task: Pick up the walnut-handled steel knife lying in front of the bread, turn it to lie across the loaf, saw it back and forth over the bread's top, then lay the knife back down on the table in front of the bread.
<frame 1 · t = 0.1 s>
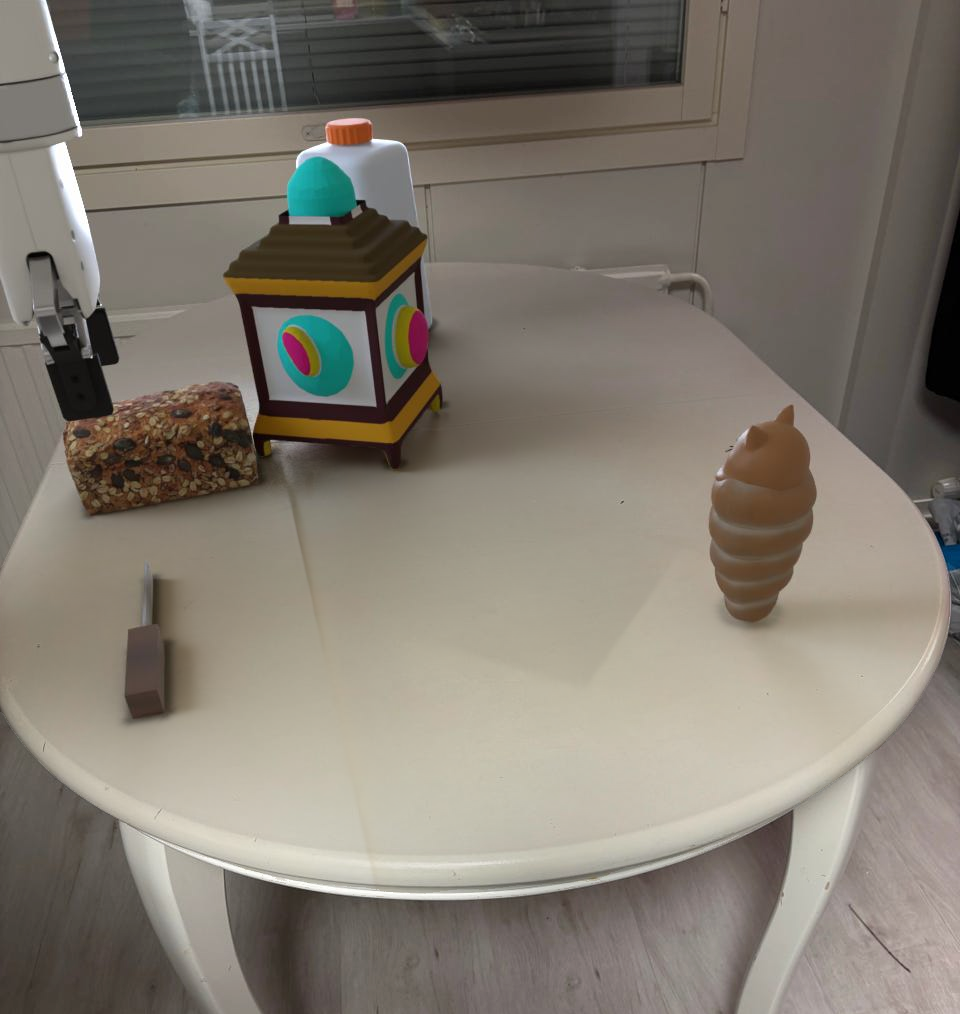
hand: (94, 389, 67), 23 cm above the table, tool pointing down, fingers open, 9 cm apart
bread: (174, 488, 105), on the table
cat ice cream: (745, 618, 81), on the table
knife: (151, 687, 77), on the table
decorative lantern: (354, 436, 114), on the table
plastic bottle: (373, 336, 141), on the table
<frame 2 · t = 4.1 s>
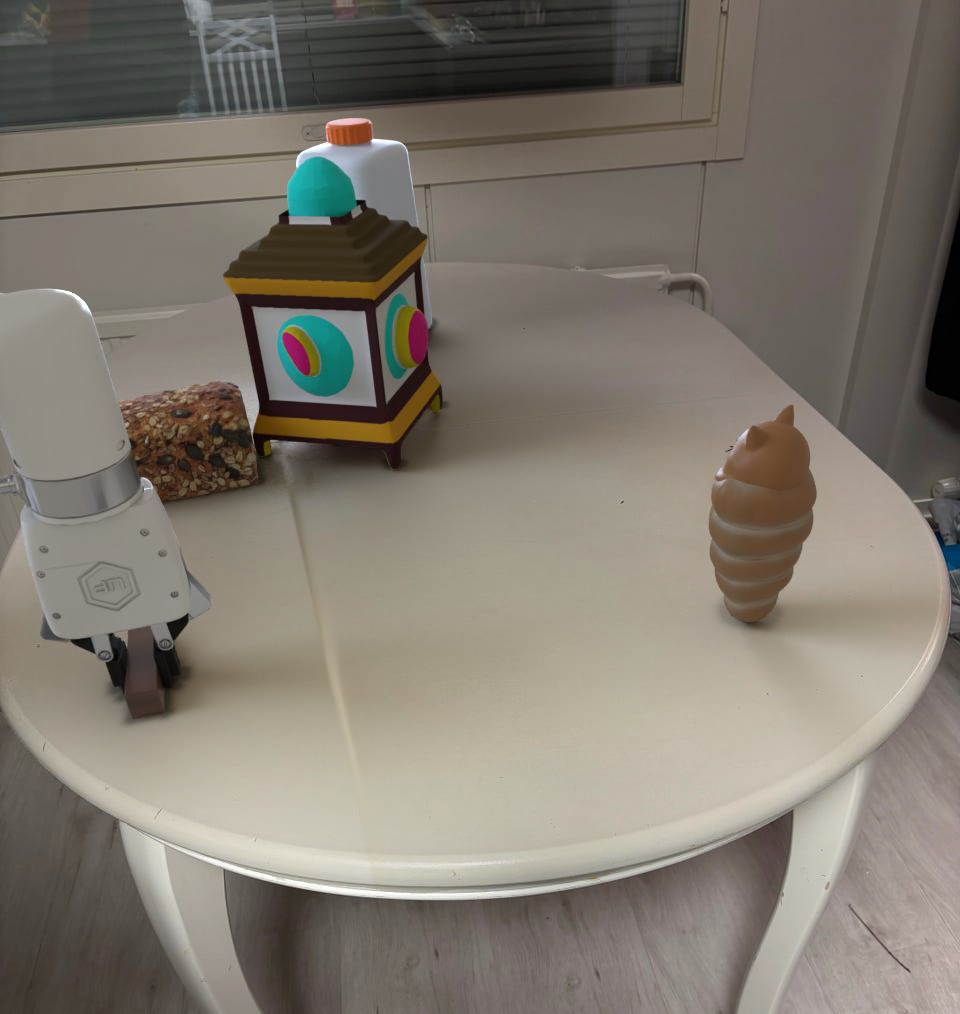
hand: (150, 683, 77), 0 cm above the table, tool pointing down, fingers closed on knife, 2 cm apart
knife: (151, 687, 77), on the table, touching gripper
everything else where it was.
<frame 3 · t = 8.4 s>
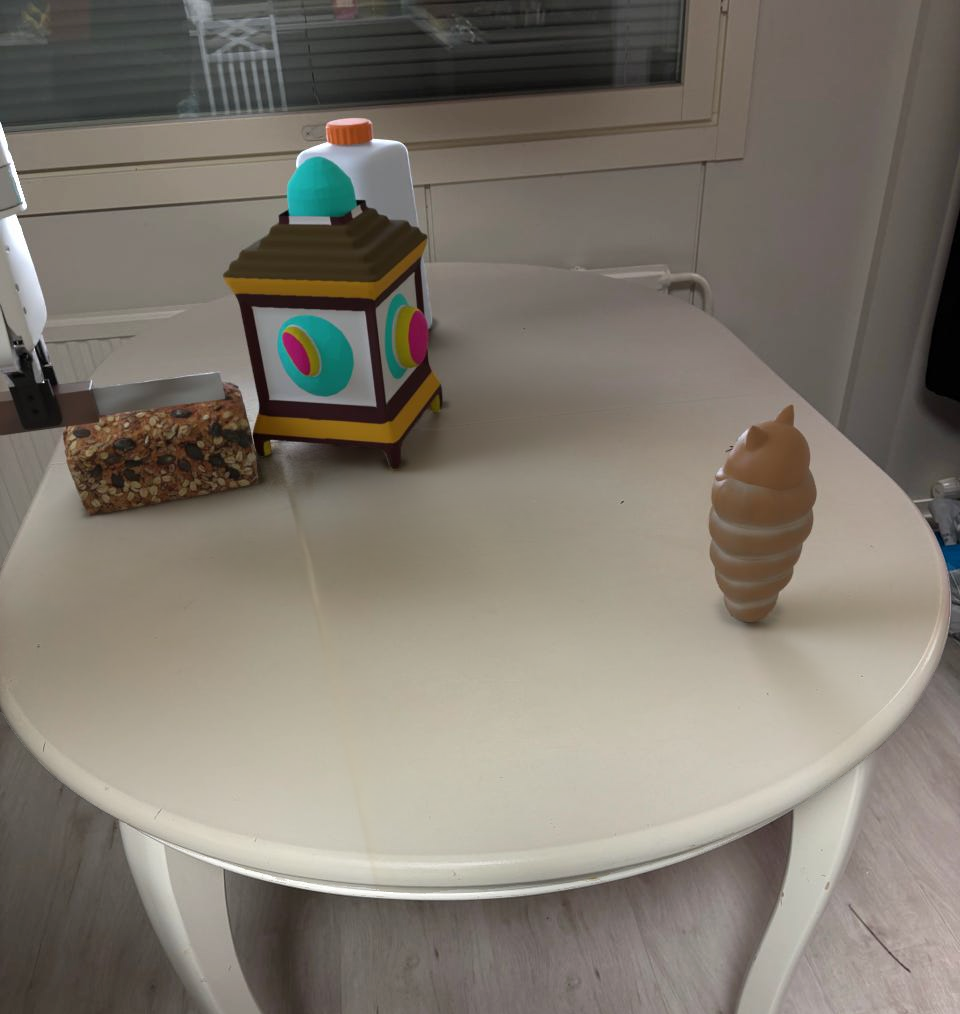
hand: (45, 417, 84), 15 cm above the table, tool pointing down, fingers closed on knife, 2 cm apart
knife: (47, 424, 85), point 14 cm above the table, touching gripper
everything else where it was.
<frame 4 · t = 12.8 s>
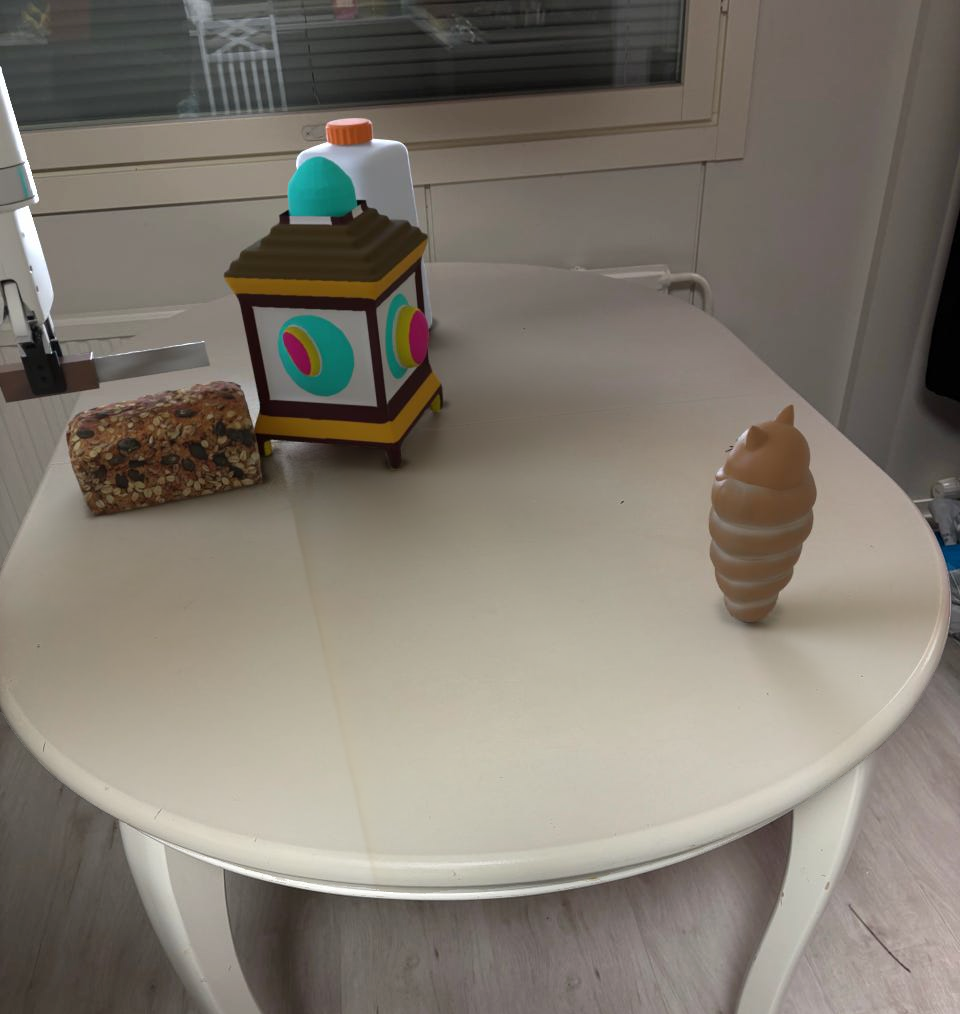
hand: (51, 385, 96), 13 cm above the table, tool pointing down, fingers closed on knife, 2 cm apart
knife: (54, 391, 96), point 12 cm above the table, touching gripper
everything else where it was.
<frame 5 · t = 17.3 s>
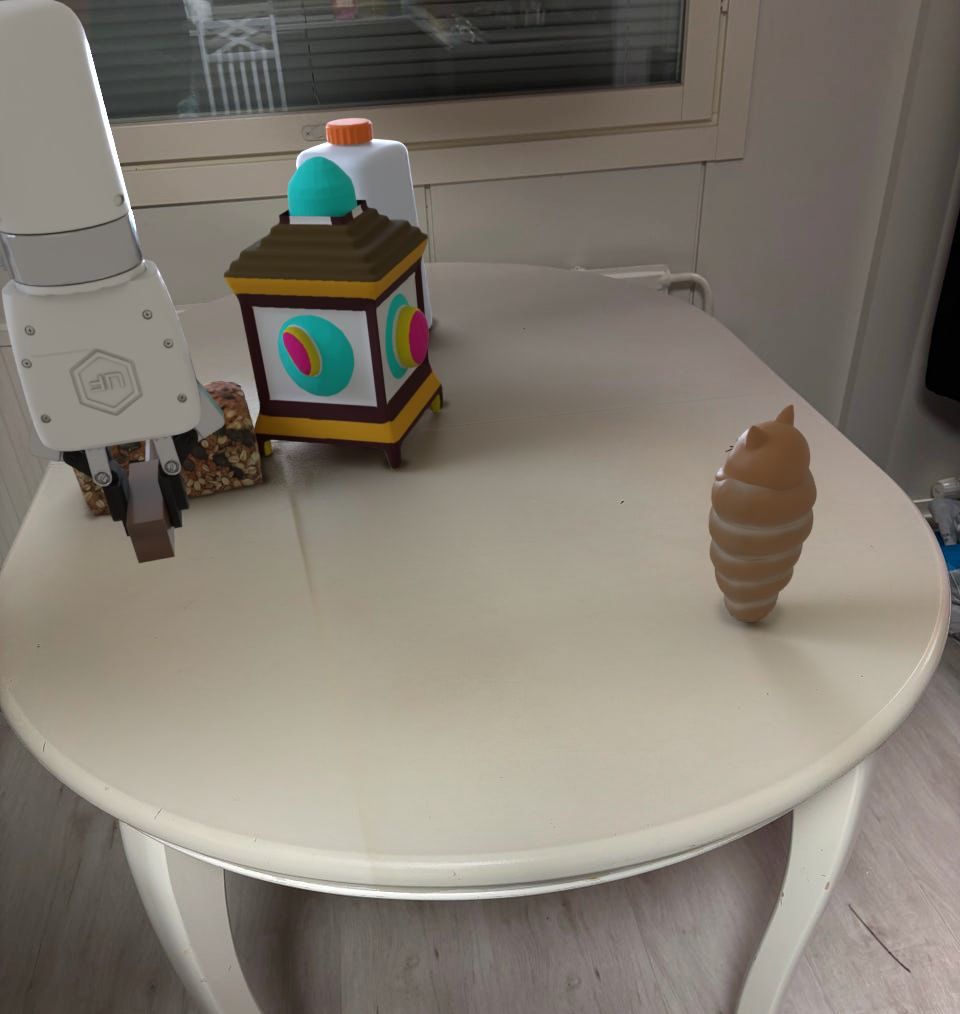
hand: (154, 520, 67), 15 cm above the table, tool pointing down, fingers closed on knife, 2 cm apart
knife: (156, 527, 68), point 15 cm above the table, touching gripper
everything else where it was.
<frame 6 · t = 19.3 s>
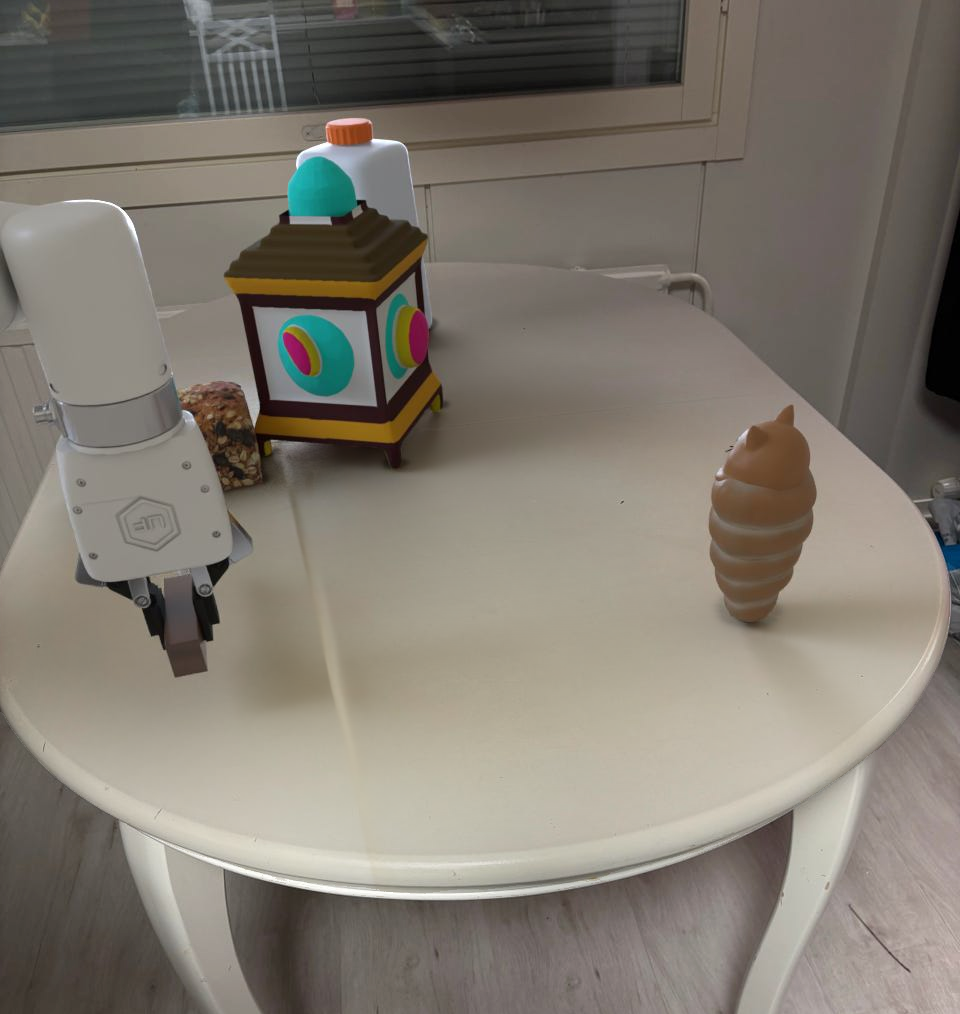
hand: (188, 633, 73), 5 cm above the table, tool pointing down, fingers closed on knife, 2 cm apart
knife: (189, 638, 74), point 5 cm above the table, touching gripper
everything else where it was.
when the fingers open (1 cm above the table, at t = 20.6 s): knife stays where it is, on the table.
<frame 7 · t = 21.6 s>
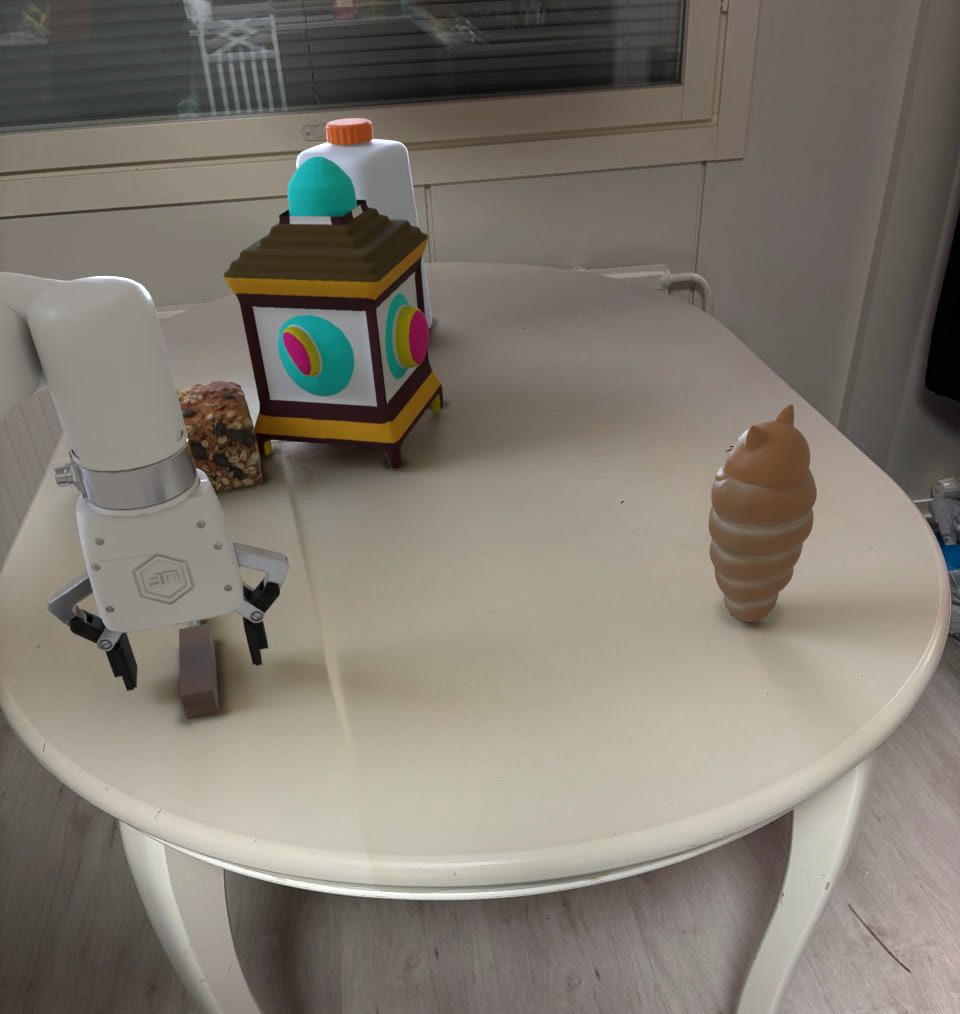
hand: (195, 667, 75), 2 cm above the table, tool pointing down, fingers open, 9 cm apart
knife: (203, 687, 77), on the table
everything else where it was.
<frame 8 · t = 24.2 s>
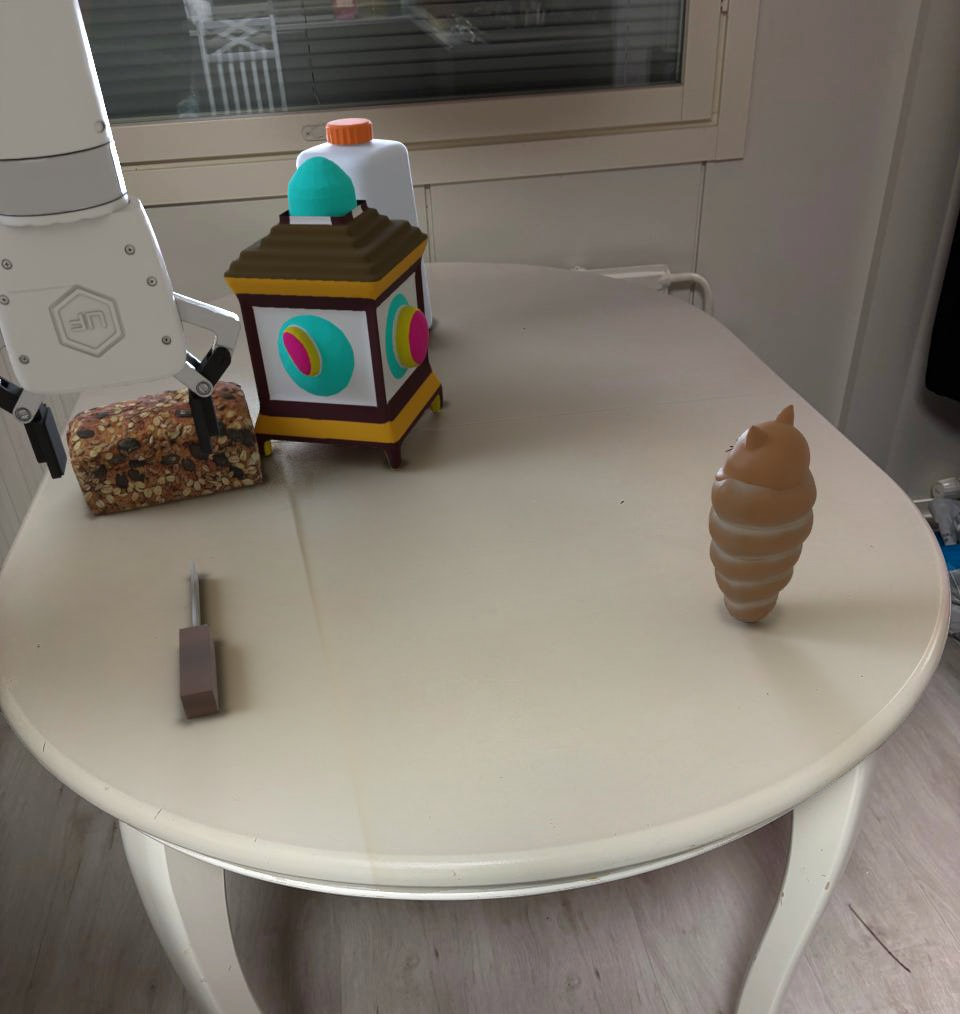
hand: (134, 458, 65), 20 cm above the table, tool pointing down, fingers open, 9 cm apart
nothing on the table moved.
at the end: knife inside the target area (0.1 cm from its centre), on the table; the gripper is holding nothing; bread moved 0.4 cm from its start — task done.
